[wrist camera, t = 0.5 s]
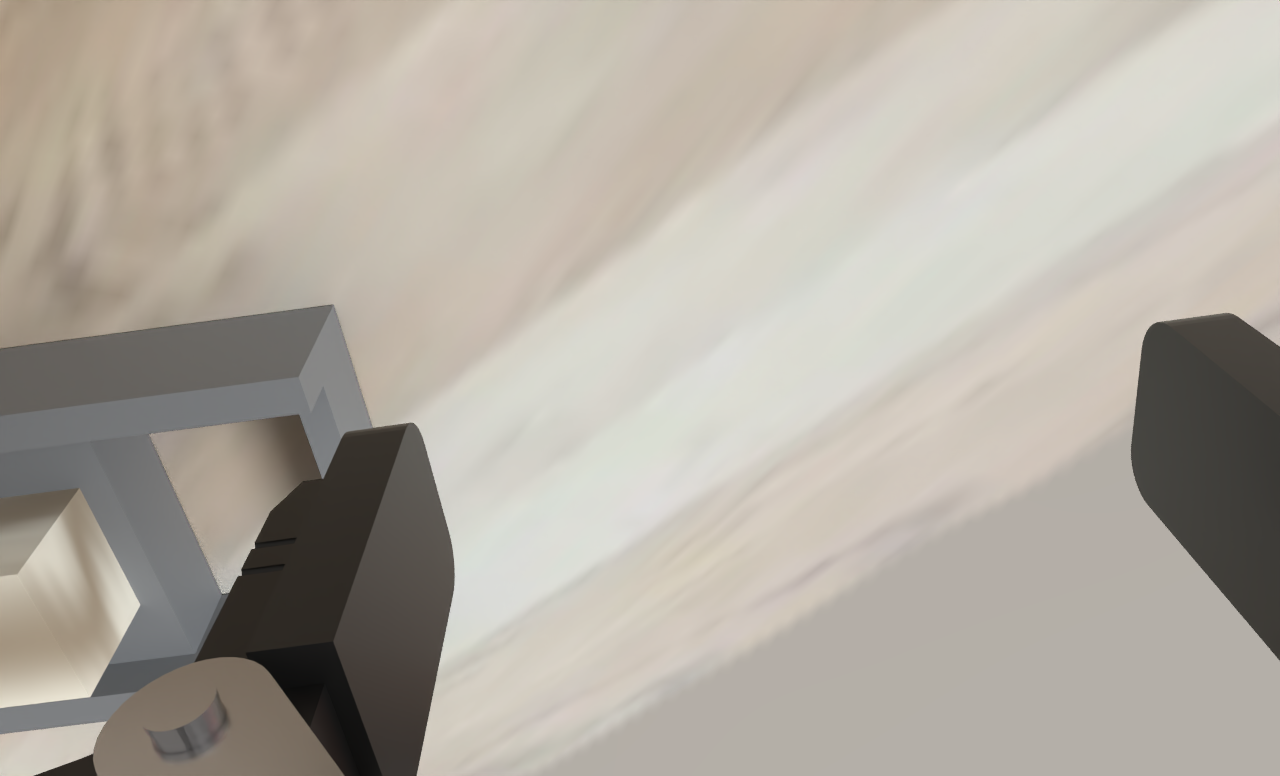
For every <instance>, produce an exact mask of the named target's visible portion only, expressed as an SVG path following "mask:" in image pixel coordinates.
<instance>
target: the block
mask: <svg viewBox="0 0 1280 776" xmlns="http://www.w3.org/2000/svg"><path fill="white" fill-rule="evenodd" d="M139 607H140V603H139V601H138V599H137V597H136V596H135V594H134V592H133V590H132V588H131V586H130V584H129V582H128V580H127V578H126V576H125V574H124V573H123V571H122V569H121V567H120V565H119V563H118V561H117V559H116V557H115V555H114V553H113V551H112V549H111V548H110V546H109V544H108V542H107V540H106V538H105V536H104V534H103V532H102V530H101V528H100V526H99V524H98V523H97V521H96V519H95V517H94V515H93V513H92V511H91V509H90V507H89V505H88V503H87V501H86V499H85V498H84V496H83V494H82V492H81V490H80V488H75V489H67V490H60V491H52V492H44V493H36V494H28V495H21V496H13V497H5V498H0V708H5V707H13V706H22V705H30V704H38V703H46V702H54V701H63V700H71V699H79V698H87V697H91V695H92V693H93V691H94V689H95V688H96V686H97V684H98V682H99V680H100V678H101V677H102V675H103V673H104V671H105V669H106V667H107V666H108V664H109V662H110V660H111V658H112V656H113V655H114V653H115V651H116V649H117V647H118V645H119V644H120V642H121V640H122V638H123V636H124V634H125V632H126V631H127V629H128V627H129V625H130V623H131V621H132V620H133V618H134V616H135V614H136V612H137V610H138V609H139Z"/></svg>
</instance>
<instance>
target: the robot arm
mask: <svg viewBox="0 0 1280 776" xmlns="http://www.w3.org/2000/svg"><path fill="white" fill-rule="evenodd" d="M1131 460H1132V467H1133V472H1134V476H1135V480H1136V483H1137V486H1138V488H1139V491H1140V493H1141V495H1142V497H1143V498H1144V500H1145V501H1146V503H1147V504H1148V506H1149V507H1150V508H1151V509H1152V510H1153V512H1154V513H1155V514H1156V515H1157V516H1158V517H1159V518H1160V520H1161V521H1162V522H1163V523H1164V524H1165V526H1166V527H1167V528H1168V529H1169V530H1170V532H1171V533H1172V534H1173V535H1174V536H1175V537H1176V539H1177V540H1178V541H1179V542H1180V543H1181V545H1182V546H1183V547H1184V548H1185V549H1186V550H1187V552H1188V553H1189V554H1190V555H1191V556H1192V558H1193V559H1194V560H1195V561H1196V562H1197V563H1198V565H1199V566H1200V567H1201V568H1202V569H1203V570H1204V572H1205V573H1206V574H1207V575H1208V576H1209V578H1210V579H1211V580H1212V581H1213V582H1214V583H1215V585H1216V586H1217V587H1218V588H1219V589H1220V590H1221V592H1222V593H1223V594H1224V595H1225V596H1226V598H1227V599H1228V600H1229V601H1230V602H1231V603H1232V605H1233V606H1234V607H1235V608H1236V609H1237V611H1238V612H1239V613H1240V614H1241V615H1242V616H1243V618H1244V619H1245V620H1246V621H1247V622H1248V623H1249V625H1250V626H1251V627H1252V628H1253V629H1254V631H1255V632H1256V633H1257V634H1258V635H1259V636H1260V638H1261V639H1262V640H1263V641H1264V642H1265V644H1266V645H1267V646H1268V647H1269V648H1270V649H1271V651H1272V652H1273V653H1274V654H1275V655H1276V656H1277V658H1278V659H1279V660H1280V347H1279V346H1278V345H1276V344H1275V343H1274V342H1272V341H1271V340H1269V339H1268V338H1267V337H1265V336H1264V335H1262V334H1261V333H1260V332H1258V331H1257V330H1256V329H1254V328H1253V327H1251V326H1250V325H1249V324H1247V323H1246V322H1244V321H1243V320H1242V319H1240V318H1239V317H1237V316H1235V315H1234V314H1230V313H1222V314H1215V315H1208V316H1200V317H1193V318H1186V319H1179V320H1171V321H1164V322H1157V323H1155V324H1153V325H1152V326H1150V328H1149V329H1148V330H1147V332H1146V335H1145V337H1144V340H1143V345H1142V352H1141V361H1140V371H1139V380H1138V389H1137V398H1136V407H1135V417H1134V426H1133V435H1132V444H1131ZM241 570H242V576H238V577H237V579H236V581H235V583H234V585H233V587H232V589H231V591H230V593H229V595H228V597H227V599H226V601H225V603H224V605H223V607H222V608H221V610H220V612H219V614H218V616H217V618H216V620H215V622H214V624H213V626H212V628H211V630H210V632H209V634H208V636H207V638H206V640H205V642H204V644H203V646H202V648H201V650H200V652H199V654H198V656H197V658H196V660H195V662H194V663H191V664H188V665H186V666H183V667H180V668H178V669H175V670H173V671H171V672H169V673H167V674H165V675H163V676H161V677H159V678H157V679H156V680H154V681H152V682H150V683H149V684H147V685H146V686H144V687H143V688H141V689H140V690H139V691H137V692H136V693H134V694H133V695H132V696H131V697H130V698H129V699H128V700H126V701H125V702H124V703H123V704H122V705H121V706H120V707H119V708H118V709H117V710H116V711H115V712H114V713H113V714H112V716H111V717H110V718H109V720H108V721H107V722H106V724H105V725H104V727H103V728H102V730H101V732H100V734H99V736H98V738H97V741H96V744H95V747H94V753H93V754H91V755H89V756H87V757H84V758H82V759H79V760H76V761H74V762H71V763H68V764H65V765H62V766H60V767H57V768H54V769H51V770H49V771H46V772H43V773H40V774H38V775H35V776H417V771H418V766H419V761H420V756H421V751H422V746H423V741H424V736H425V731H426V726H427V721H428V716H429V711H430V706H431V701H432V696H433V691H434V686H435V681H436V676H437V671H438V666H439V661H440V656H441V651H442V646H443V642H444V637H445V632H446V627H447V622H448V617H449V612H450V607H451V602H452V597H453V591H454V576H455V575H454V558H453V550H452V544H451V539H450V535H449V531H448V527H447V524H446V520H445V517H444V513H443V509H442V506H441V502H440V498H439V495H438V491H437V488H436V484H435V480H434V477H433V473H432V469H431V466H430V462H429V459H428V455H427V451H426V448H425V444H424V441H423V438H422V435H421V433H420V431H419V429H418V427H417V426H416V425H415V424H414V423H406V424H398V425H391V426H384V427H376V428H369V429H362V430H354V431H348V432H346V433H345V434H344V435H343V436H342V438H341V440H340V443H339V445H338V447H337V449H336V452H335V454H334V456H333V458H332V461H331V463H330V465H329V467H328V469H327V472H326V474H325V476H324V478H323V479H318V480H311V481H303V482H302V483H301V484H300V485H299V486H298V487H297V488H296V489H295V490H293V491H292V492H291V493H290V494H289V495H288V496H287V497H286V498H285V499H284V500H283V501H281V502H280V503H279V504H278V505H277V506H276V507H275V508H274V509H273V510H272V511H271V512H270V514H269V516H268V518H267V520H266V522H265V524H264V526H263V528H262V530H261V532H260V534H259V536H258V537H257V539H256V541H255V549H251V551H250V553H249V555H248V557H247V559H246V561H245V563H244V565H243V567H242V569H241Z"/></svg>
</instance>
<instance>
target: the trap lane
mask: <svg viewBox="0 0 1280 776" xmlns="http://www.w3.org/2000/svg"><path fill="white" fill-rule="evenodd" d="M298 414H299V416H300V419H301V421H302V424H303V427H304V430H305V432H306V435H307V438H308V441H309V444H310V446H311V449H312V452H313V455H314V457H315V460H316V463H317V466H318V468H319V471H320V474H321V477H322V479H323V478H324V476H325V474H326V472H327V469H328V467H329V465H330V463H331V461H332V458H333V456H334V454H335V452H336V449H337V447H338V445H339V443H340V440H341V438H342V436H343V435H344V434H345V433H346V432H348V431H354V430H362V429H369V428H373V427H372V424H371V421H370V418H369V415H368V411H367V408H366V405H365V402H364V399H363V396H362V393H361V389H360V386H359V383H358V380H357V377H356V374H355V370H354V367H353V364H352V361H351V358H350V355H349V352H348V348H347V345H346V342H345V339H344V336H343V333H342V330H341V326H340V323H339V320H338V317H337V314H336V311H335V307H334V305H329V306H321V307H313V308H306V309H298V310H291V311H283V312H276V313H268V314H261V315H253V316H246V317H238V318H231V319H223V320H215V321H208V322H200V323H193V324H185V325H178V326H170V327H163V328H155V329H148V330H140V331H133V332H125V333H117V334H110V335H102V336H95V337H87V338H80V339H72V340H65V341H57V342H50V343H42V344H34V345H27V346H19V347H12V348H4V349H0V498H5V497H13V496H21V495H28V494H36V493H44V492H52V491H60V490H67V489H75V488H80V490H81V492H82V494H83V496H84V498H85V499H86V501H87V503H88V505H89V507H90V509H91V511H92V513H93V515H94V517H95V519H96V521H97V523H98V524H99V526H100V528H101V530H102V532H103V534H104V536H105V538H106V540H107V542H108V544H109V546H110V548H111V549H112V551H113V553H114V555H115V557H116V559H117V561H118V563H119V565H120V567H121V569H122V571H123V573H124V574H125V576H126V578H127V580H128V582H129V584H130V586H131V588H132V590H133V592H134V594H135V596H136V597H137V599H138V601H139V603H140V607H139V609H138V610H137V612H136V614H135V616H134V618H133V620H132V621H131V623H130V625H129V627H128V629H127V631H126V632H125V634H124V636H123V638H122V640H121V642H120V644H119V645H118V647H117V649H116V651H115V653H114V655H113V656H112V658H111V660H110V662H109V664H108V666H107V667H106V669H105V671H104V673H103V675H102V677H101V678H100V680H99V682H98V684H97V686H96V688H95V689H94V691H93V693H92V695H91V697H87V698H79V699H71V700H63V701H54V702H46V703H38V704H30V705H22V706H13V707H5V708H0V734H5V733H13V732H22V731H30V730H38V729H46V728H55V727H63V726H71V725H79V724H87V723H96V722H104V721H108V720H109V718H110V717H111V716H112V714H113V713H114V712H115V711H116V710H117V709H118V708H119V707H120V706H121V705H122V704H123V703H124V702H125V701H126V700H128V699H129V698H130V697H131V696H132V695H133V694H134V693H136V692H137V691H139V690H140V689H141V688H143V687H144V686H146V685H147V684H149V683H150V682H152V681H154V680H156V679H157V678H159V677H161V676H163V675H165V674H167V673H169V672H171V671H173V670H175V669H178V668H180V667H183V666H186V665H188V664H191V663H194V662H195V660H196V658H197V656H198V654H199V652H200V650H201V648H202V646H203V644H204V642H205V640H206V638H207V636H208V634H209V632H210V630H211V628H212V626H213V624H214V622H215V620H216V618H217V616H218V614H219V612H220V610H221V608H222V607H223V605H224V603H225V601H226V599H227V597H228V595H229V594H223V595H222V593H221V591H220V589H219V587H218V585H217V583H216V580H215V578H214V576H213V574H212V572H211V570H210V567H209V565H208V563H207V561H206V559H205V557H204V554H203V552H202V550H201V548H200V546H199V543H198V541H197V539H196V537H195V535H194V533H193V530H192V528H191V526H190V524H189V522H188V520H187V517H186V515H185V513H184V511H183V509H182V506H181V504H180V502H179V500H178V498H177V496H176V493H175V491H174V489H173V487H172V485H171V483H170V480H169V478H168V476H167V474H166V472H165V469H164V467H163V465H162V463H161V461H160V459H159V456H158V454H157V452H156V450H155V448H154V446H153V443H152V441H151V439H150V437H149V435H148V434H151V433H159V432H166V431H174V430H182V429H190V428H197V427H205V426H213V425H220V424H228V423H236V422H244V421H251V420H259V419H267V418H274V417H282V416H290V415H298Z"/></svg>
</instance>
